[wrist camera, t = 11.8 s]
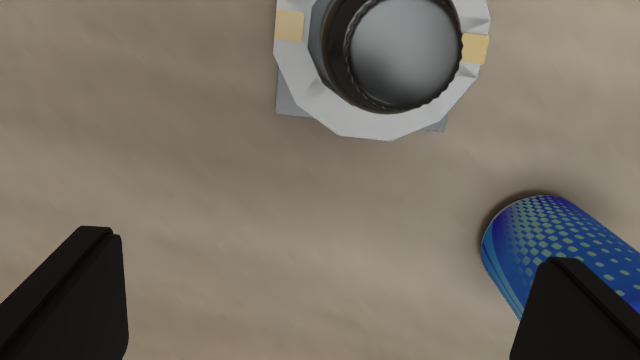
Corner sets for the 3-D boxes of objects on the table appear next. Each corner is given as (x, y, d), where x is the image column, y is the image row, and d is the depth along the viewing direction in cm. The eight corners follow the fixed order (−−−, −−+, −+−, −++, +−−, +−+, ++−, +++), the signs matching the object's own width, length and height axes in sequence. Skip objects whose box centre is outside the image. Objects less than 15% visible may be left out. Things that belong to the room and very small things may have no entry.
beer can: (569, 172, 34) (773, 304, 19) (586, 260, 37) (775, 433, 22) (463, 210, 35) (577, 363, 20) (488, 292, 38) (604, 479, 23)
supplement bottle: (383, -48, 27) (434, -86, 16) (442, 43, 29) (524, 67, 18) (296, 25, 29) (287, 38, 17) (359, 107, 31) (386, 166, 19)
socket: (272, 113, 32) (266, 130, 27) (288, -87, 27) (283, -104, 23) (442, 132, 32) (462, 151, 28) (485, -59, 28) (517, -71, 24)
